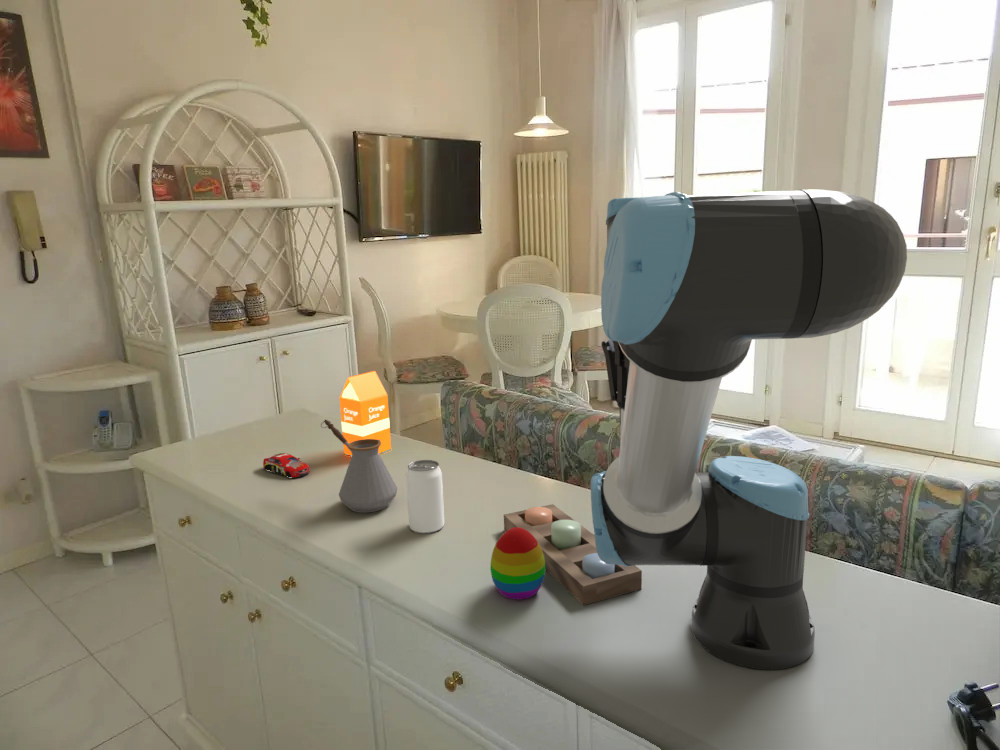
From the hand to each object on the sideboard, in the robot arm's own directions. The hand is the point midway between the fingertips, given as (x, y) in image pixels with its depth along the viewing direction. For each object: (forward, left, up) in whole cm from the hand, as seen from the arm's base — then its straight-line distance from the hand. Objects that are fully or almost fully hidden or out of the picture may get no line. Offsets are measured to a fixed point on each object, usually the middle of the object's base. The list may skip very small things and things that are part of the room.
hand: (630, 447), depth 110 cm
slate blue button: (-7, +10, -18) cm, 22 cm away
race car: (+69, +47, -19) cm, 86 cm away
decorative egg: (-3, +22, -18) cm, 29 cm away
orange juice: (+73, +27, -18) cm, 80 cm away
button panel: (+3, +10, -18) cm, 21 cm away
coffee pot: (+45, +36, -18) cm, 61 cm away
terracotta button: (+13, +10, -18) cm, 24 cm away
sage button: (+3, +10, -16) cm, 20 cm away
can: (+25, +27, -18) cm, 41 cm away
